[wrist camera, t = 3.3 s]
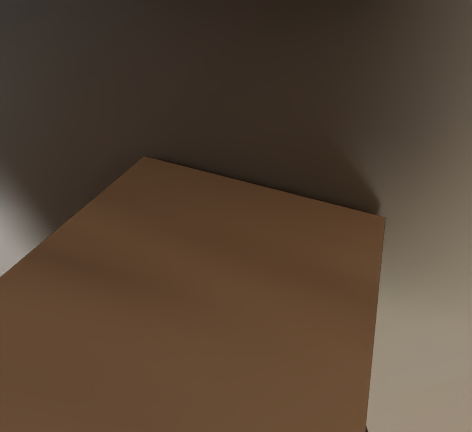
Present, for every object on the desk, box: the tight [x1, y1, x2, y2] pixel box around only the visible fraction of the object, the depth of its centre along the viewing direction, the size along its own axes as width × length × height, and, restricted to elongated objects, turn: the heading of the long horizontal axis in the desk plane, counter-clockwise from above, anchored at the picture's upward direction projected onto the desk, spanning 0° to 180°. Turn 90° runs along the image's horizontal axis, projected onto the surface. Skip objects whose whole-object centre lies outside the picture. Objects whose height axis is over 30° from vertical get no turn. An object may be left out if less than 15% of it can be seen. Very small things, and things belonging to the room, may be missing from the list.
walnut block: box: [0, 156, 386, 432], centre depth 8 cm, size 7×5×6 cm
